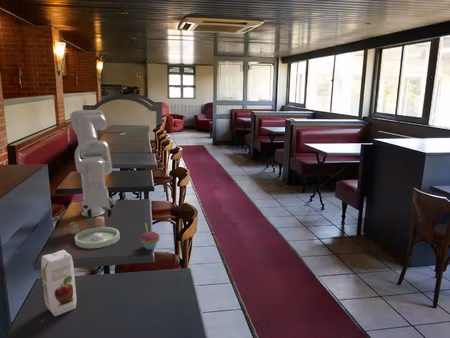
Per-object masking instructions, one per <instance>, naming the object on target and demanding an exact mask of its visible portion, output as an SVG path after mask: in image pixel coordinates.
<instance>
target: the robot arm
mask: <svg viewBox="0 0 450 338" xmlns="http://www.w3.org/2000/svg"><path fill="white" fill-rule="evenodd" d="M69 117H70V119H69V120H70V124H71V126H72V130H73V131H74V133H75V135H76V137H77V143H78V145H77V147H76V149H75V150H74V163H75V168H76V170H77V173H79V174H80V177H81V185H82V186H81V187H82V195H83V196H82V197H83V198H82V201H81V205H82V208H83V210H82V211H81V215H82V216H83V217H87V218H88V219H91V218H92V217H93V218H94V217H99V216H103V215H104V214H105V213H106V211H105V210H106V209H104V208H107V217H108V218H111V216H112V214H113V213H112V212H113V211H112V209H113V208H114V207H115V204H116V202H117V200H116V199H114V198H111V197H110V196H109V190H108V187H107V185H106V179H105V176H106V175H110V174H111V173H112V171H113V164H112V157H111V152H110V146H109V143H107V141H105V140H99V138H98V133H97V131H102V130H105V129H106V128H107V125H108V124H107V119H106V117H105V114H104V113H103V111H102V110H101V109H80V110H74V111H72V112H71V113H70V116H69ZM110 202H112V204H110Z"/></svg>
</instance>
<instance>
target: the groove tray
mask: <svg viewBox="0 0 450 338" xmlns="http://www.w3.org/2000/svg"><path fill="white" fill-rule="evenodd" d="M120 234H121V233H120V231H119V229H117V228H115V227H108V226H105V227H96V226H95V227H91V228H87V229H83V230H81V231H79V233H77V234H76V235H75V236H74V244H75V245H76V246H77V247H79V248H82V249H99V248H105V247H108V246H112V245H114V244H116V243H117V242H119V240H120V238H121V237H120V236H121V235H120Z"/></svg>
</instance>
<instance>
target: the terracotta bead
mask: <svg viewBox="0 0 450 338" xmlns="http://www.w3.org/2000/svg"><path fill="white" fill-rule="evenodd" d="M94 219H95V228H96V227H106V225H105V216H103V215H99V216H95V218H94Z"/></svg>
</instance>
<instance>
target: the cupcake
mask: <svg viewBox="0 0 450 338" xmlns="http://www.w3.org/2000/svg"><path fill="white" fill-rule="evenodd" d="M144 224H145V225H144V226H145V230H146V232H144V233H142V234H141V235H140V237H139V239H140V242H141V243H142V244H143V246H144V249H146V250H154V249H156V247H157V243H158V242H159V241H160V235H159V234H158V233H157V232H155V231H149V230H148V225H147V223H146V222H144Z"/></svg>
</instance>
